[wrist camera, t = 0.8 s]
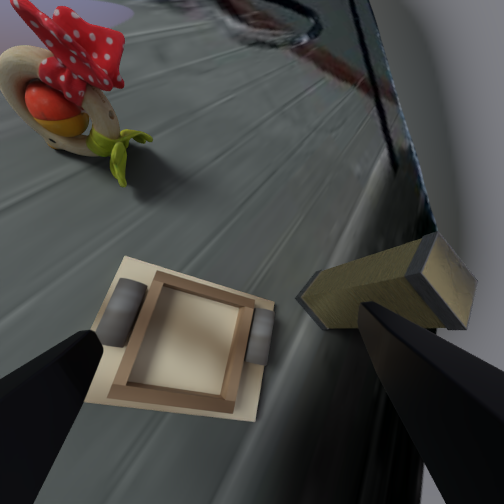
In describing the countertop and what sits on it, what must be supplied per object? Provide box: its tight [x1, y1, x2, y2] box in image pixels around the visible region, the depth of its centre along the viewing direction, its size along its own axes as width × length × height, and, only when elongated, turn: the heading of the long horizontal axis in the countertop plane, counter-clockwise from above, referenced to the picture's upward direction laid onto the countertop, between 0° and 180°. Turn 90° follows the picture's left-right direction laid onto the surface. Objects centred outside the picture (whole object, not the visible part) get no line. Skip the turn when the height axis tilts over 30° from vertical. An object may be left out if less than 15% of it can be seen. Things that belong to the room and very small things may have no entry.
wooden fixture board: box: [84, 256, 275, 422], centre depth 18 cm, size 10×14×3 cm
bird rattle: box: [0, 0, 153, 187], centre depth 16 cm, size 6×11×9 cm
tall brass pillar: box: [295, 231, 478, 330], centre depth 20 cm, size 5×5×13 cm
